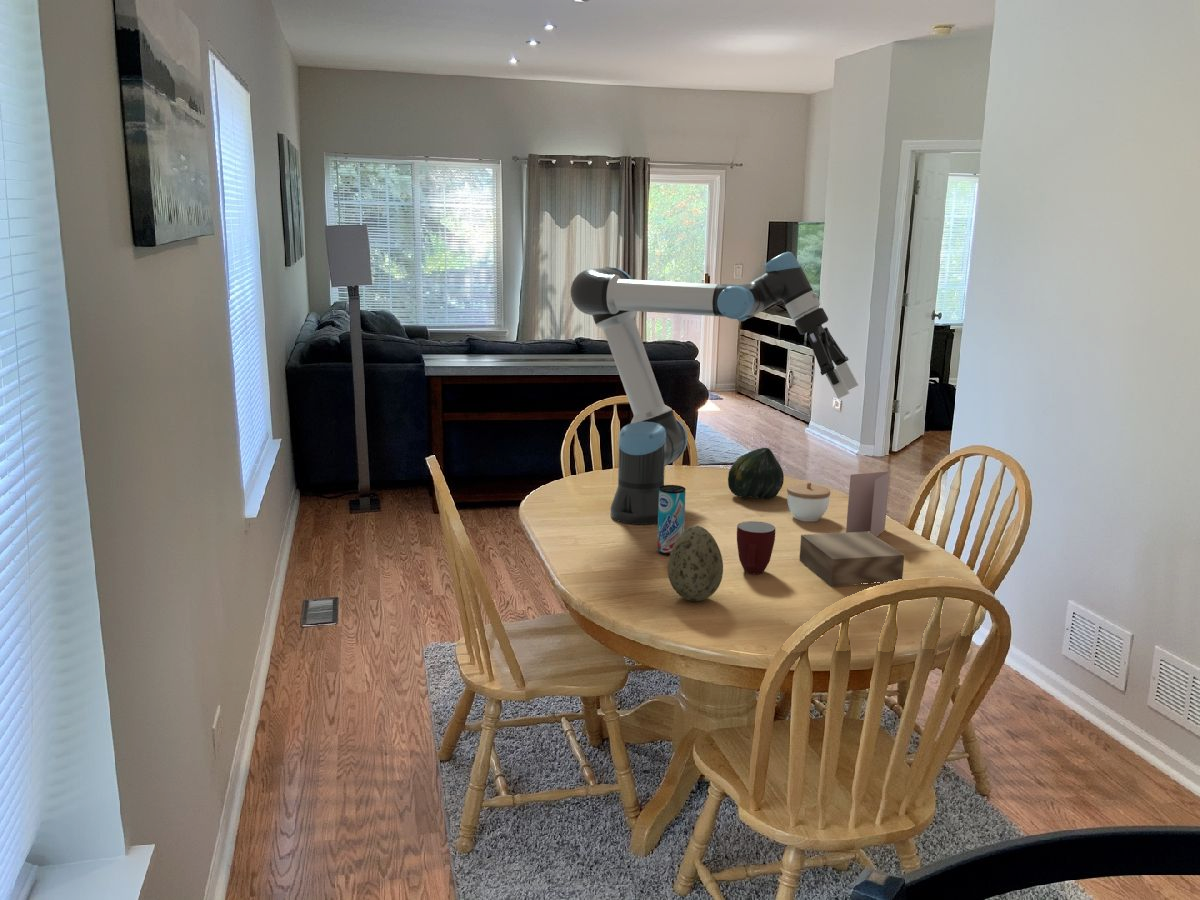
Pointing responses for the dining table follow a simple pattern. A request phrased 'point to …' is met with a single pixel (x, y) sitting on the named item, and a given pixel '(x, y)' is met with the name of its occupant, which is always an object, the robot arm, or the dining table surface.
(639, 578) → the dining table surface
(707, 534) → the decorative egg
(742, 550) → the mug
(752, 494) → the squash
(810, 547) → the walnut block
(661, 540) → the beverage can
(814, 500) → the lidded jar
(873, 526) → the greeting card
